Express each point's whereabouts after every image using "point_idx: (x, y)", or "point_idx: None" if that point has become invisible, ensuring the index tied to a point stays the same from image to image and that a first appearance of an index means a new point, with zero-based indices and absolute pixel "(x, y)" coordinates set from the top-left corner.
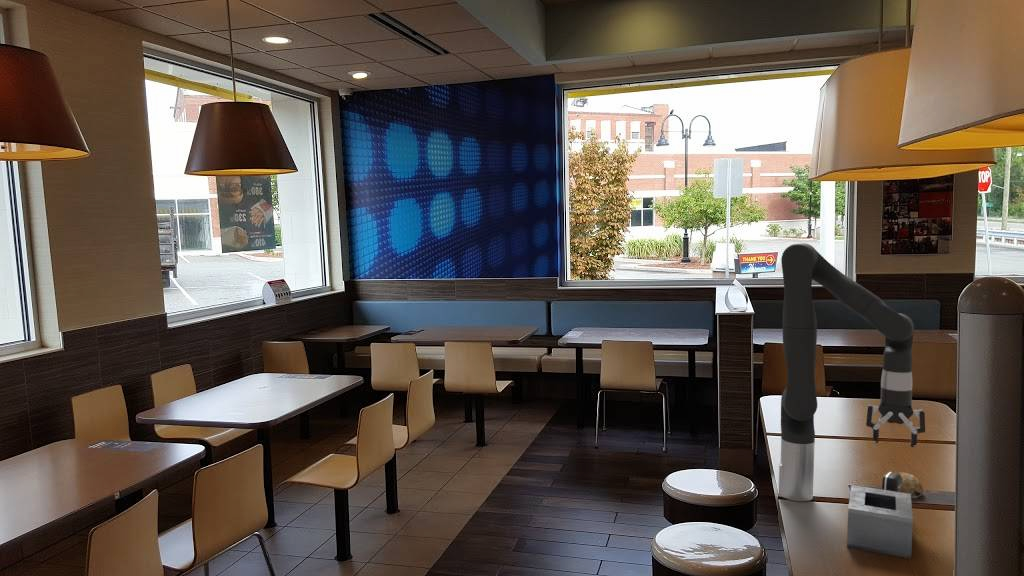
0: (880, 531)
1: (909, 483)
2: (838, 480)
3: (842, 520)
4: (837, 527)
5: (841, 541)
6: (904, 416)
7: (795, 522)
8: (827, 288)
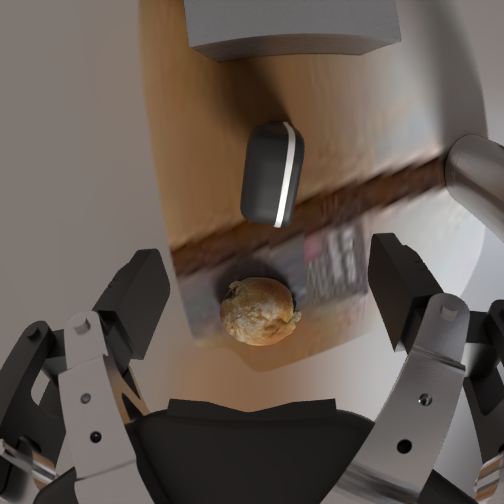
0: None
1: (242, 305)
2: None
3: (375, 50)
4: None
5: None
6: (82, 489)
7: (452, 12)
8: None
